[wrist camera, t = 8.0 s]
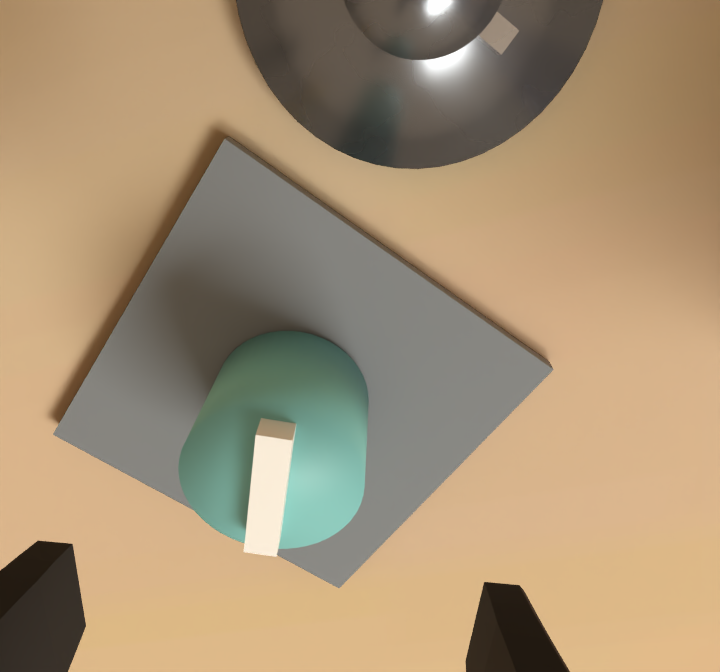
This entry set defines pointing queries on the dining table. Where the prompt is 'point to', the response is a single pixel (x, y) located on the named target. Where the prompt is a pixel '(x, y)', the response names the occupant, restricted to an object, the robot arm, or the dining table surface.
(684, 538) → the dining table surface
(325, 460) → the cap
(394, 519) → the mat
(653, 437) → the dining table surface
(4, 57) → the dining table surface
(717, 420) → the dining table surface
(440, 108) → the metal flanged disc
